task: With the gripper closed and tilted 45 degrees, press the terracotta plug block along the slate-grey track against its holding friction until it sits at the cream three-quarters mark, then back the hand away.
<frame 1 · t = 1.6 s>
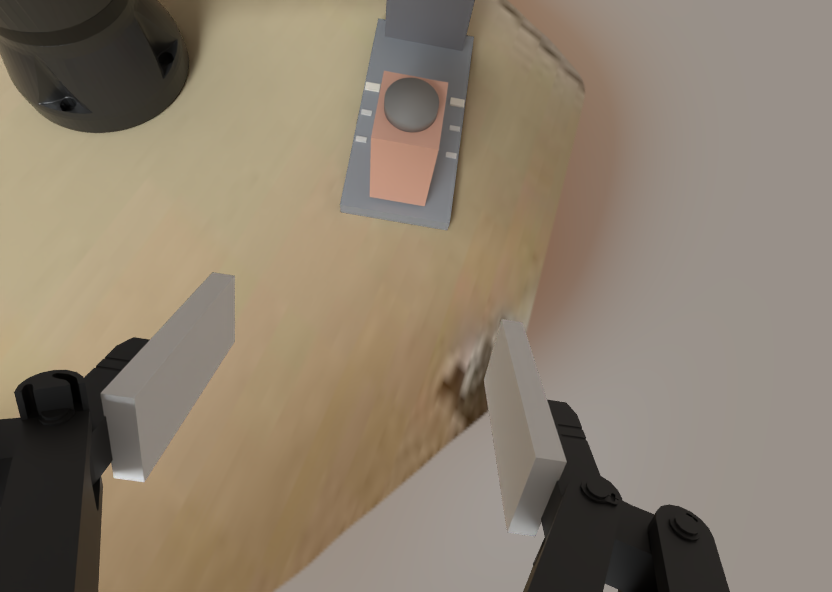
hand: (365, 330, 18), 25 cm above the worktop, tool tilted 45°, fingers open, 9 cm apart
terracotta plug block: (406, 140, 41), point 7 cm above the worktop, slide at 0.0 cm
slate track: (400, 183, 48), on the worktop
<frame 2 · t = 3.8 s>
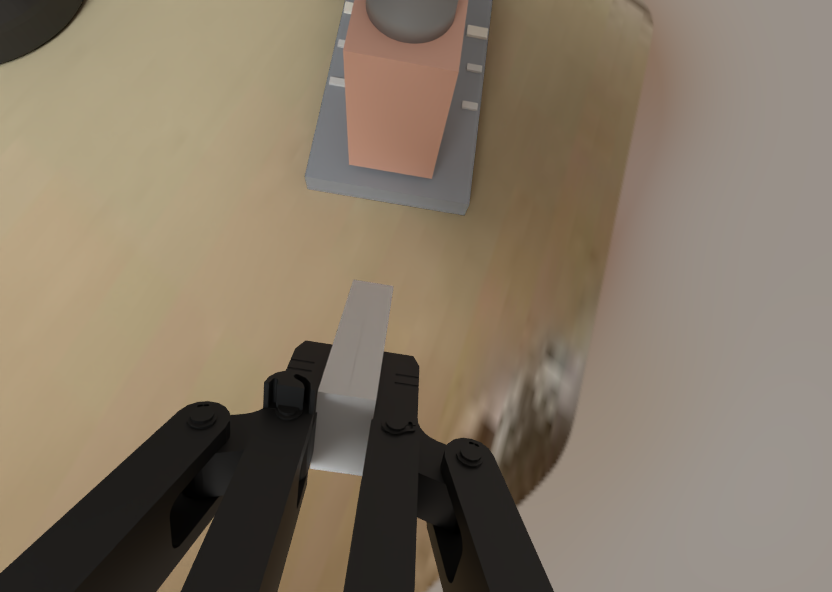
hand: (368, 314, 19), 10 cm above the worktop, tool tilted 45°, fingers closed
terracotta plug block: (404, 71, 26), point 7 cm above the worktop, slide at 0.0 cm
slate track: (395, 147, 33), on the worktop
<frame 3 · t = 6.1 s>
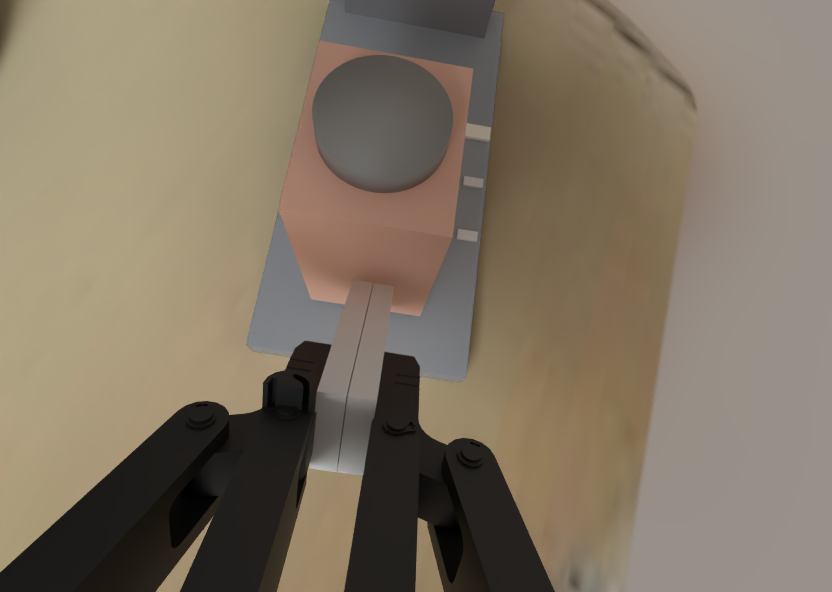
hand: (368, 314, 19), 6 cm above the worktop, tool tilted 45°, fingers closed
terracotta plug block: (379, 197, 19), point 7 cm above the worktop, slide at 1.4 cm, touching gripper
slate track: (371, 288, 25), on the worktop
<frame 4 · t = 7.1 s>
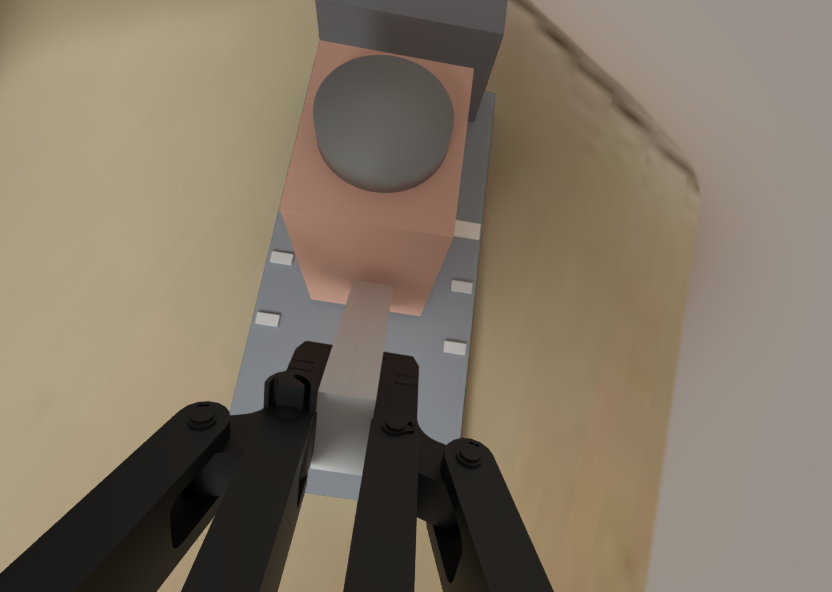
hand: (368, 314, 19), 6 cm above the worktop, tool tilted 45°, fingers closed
terracotta plug block: (379, 197, 19), point 7 cm above the worktop, slide at 7.1 cm, touching gripper
slate track: (351, 403, 23), on the worktop
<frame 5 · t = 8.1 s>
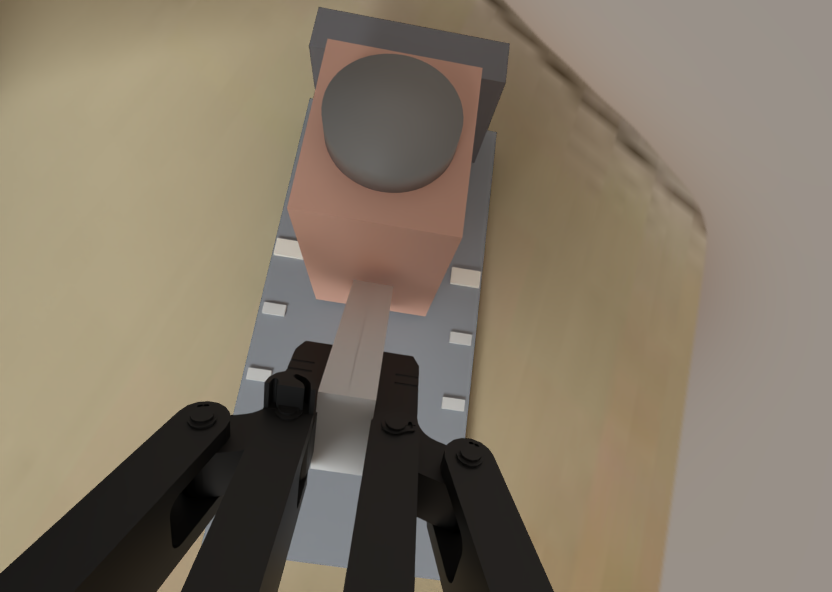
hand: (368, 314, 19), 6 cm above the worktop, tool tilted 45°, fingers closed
terracotta plug block: (385, 196, 19), point 7 cm above the worktop, slide at 9.7 cm, touching gripper
slate track: (346, 460, 23), on the worktop
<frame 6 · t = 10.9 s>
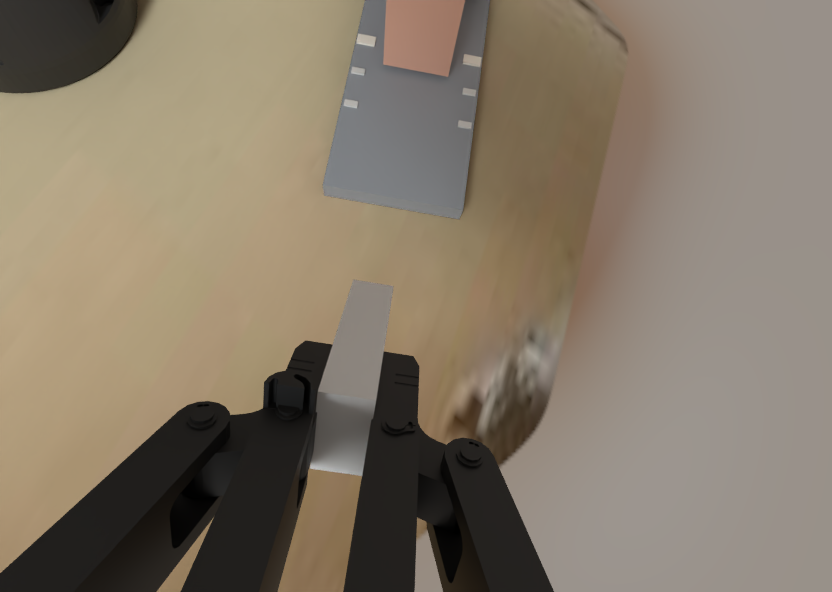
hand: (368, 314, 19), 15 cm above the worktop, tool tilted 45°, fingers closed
slate track: (400, 160, 38), on the worktop
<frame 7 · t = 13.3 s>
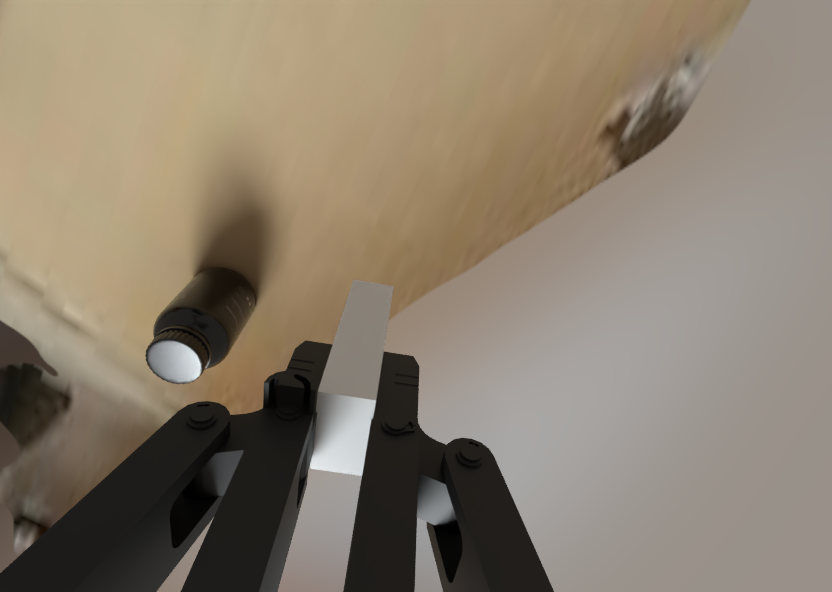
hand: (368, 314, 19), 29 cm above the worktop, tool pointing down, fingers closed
supplement bottle: (225, 294, 52), on the worktop
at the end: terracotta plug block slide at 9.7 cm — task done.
